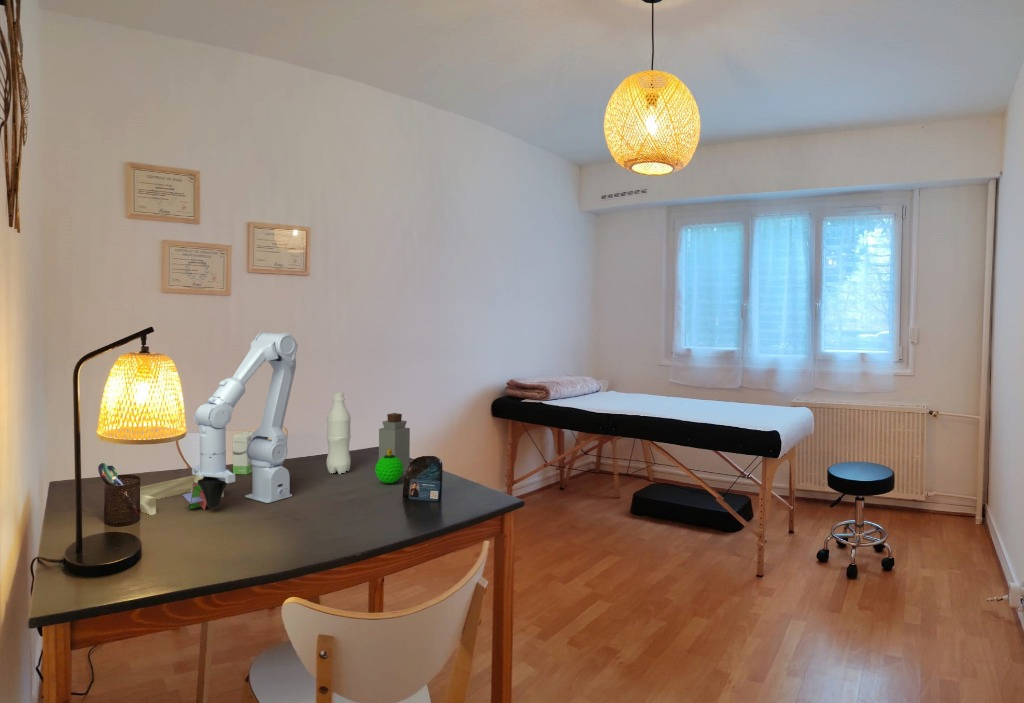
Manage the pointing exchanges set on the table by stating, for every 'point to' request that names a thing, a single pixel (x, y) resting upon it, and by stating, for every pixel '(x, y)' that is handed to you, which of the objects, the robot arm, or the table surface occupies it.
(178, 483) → the beige piece
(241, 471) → the ink box
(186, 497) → the geometric puzzle
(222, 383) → the robot arm
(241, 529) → the table surface
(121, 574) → the table surface
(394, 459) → the ornament
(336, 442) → the water bottle
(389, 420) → the perfume bottle
